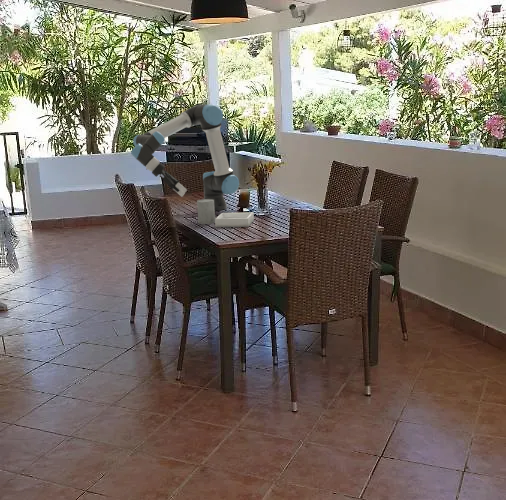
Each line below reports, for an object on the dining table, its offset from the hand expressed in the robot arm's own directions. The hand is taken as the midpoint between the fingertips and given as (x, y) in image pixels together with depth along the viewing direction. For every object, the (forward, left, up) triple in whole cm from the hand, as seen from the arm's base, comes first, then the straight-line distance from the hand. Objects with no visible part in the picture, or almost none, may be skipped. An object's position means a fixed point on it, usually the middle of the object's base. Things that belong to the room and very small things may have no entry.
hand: (184, 193), depth 390 cm
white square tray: (+4, +28, -17) cm, 33 cm away
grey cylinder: (-1, +11, -17) cm, 20 cm away
